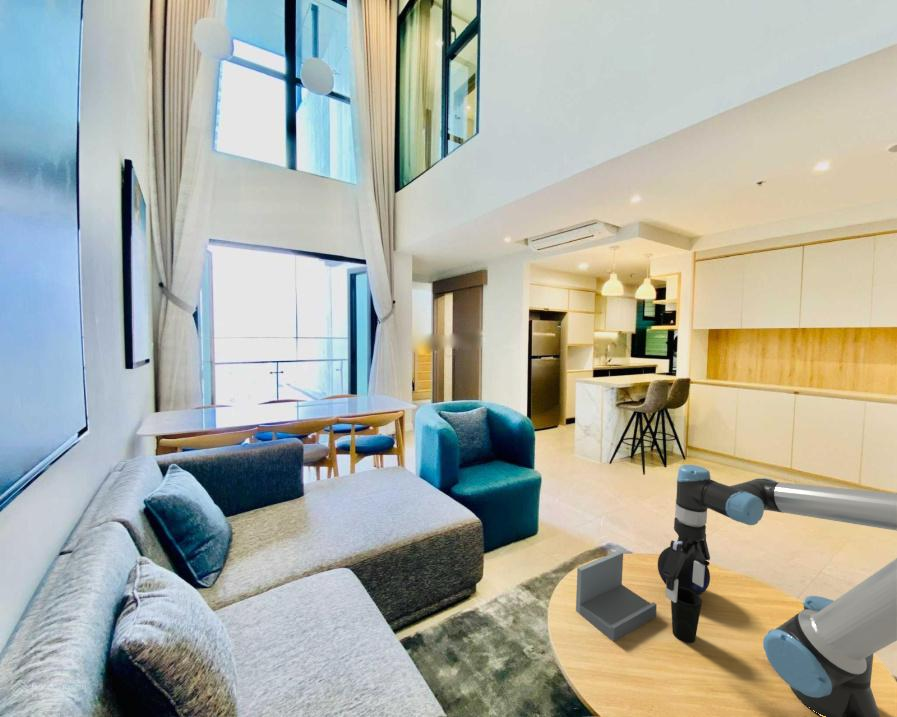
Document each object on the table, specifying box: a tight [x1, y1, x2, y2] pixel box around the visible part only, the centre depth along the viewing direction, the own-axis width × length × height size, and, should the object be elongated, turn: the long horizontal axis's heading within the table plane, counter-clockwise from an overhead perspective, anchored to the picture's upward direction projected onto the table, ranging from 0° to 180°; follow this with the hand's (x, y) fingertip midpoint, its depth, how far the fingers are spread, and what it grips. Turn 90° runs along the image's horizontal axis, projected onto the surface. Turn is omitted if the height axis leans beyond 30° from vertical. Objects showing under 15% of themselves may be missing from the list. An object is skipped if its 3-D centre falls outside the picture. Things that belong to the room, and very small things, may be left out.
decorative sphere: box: [657, 546, 711, 596], centre depth 127 cm, size 15×15×15 cm
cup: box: [670, 587, 703, 644], centre depth 108 cm, size 8×8×12 cm
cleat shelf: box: [575, 550, 657, 642], centre depth 116 cm, size 14×20×14 cm
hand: (684, 591), depth 108 cm, fingers open, 13 cm apart
